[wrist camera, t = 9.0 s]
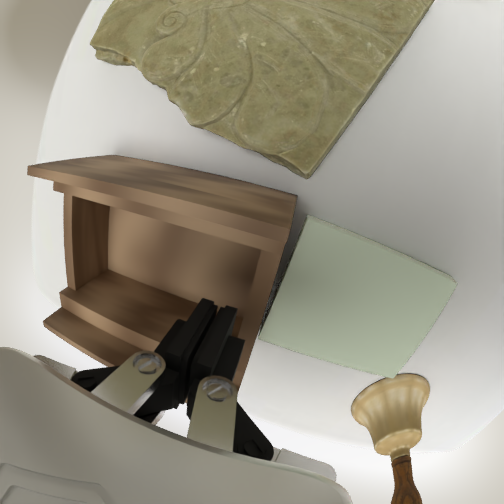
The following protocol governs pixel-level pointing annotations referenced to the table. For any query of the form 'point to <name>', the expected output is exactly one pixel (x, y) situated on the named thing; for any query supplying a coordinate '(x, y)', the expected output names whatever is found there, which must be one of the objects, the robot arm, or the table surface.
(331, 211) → the table surface
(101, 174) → the box
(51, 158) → the table surface
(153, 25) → the decorative tile
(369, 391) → the hand bell
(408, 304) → the cover plate
